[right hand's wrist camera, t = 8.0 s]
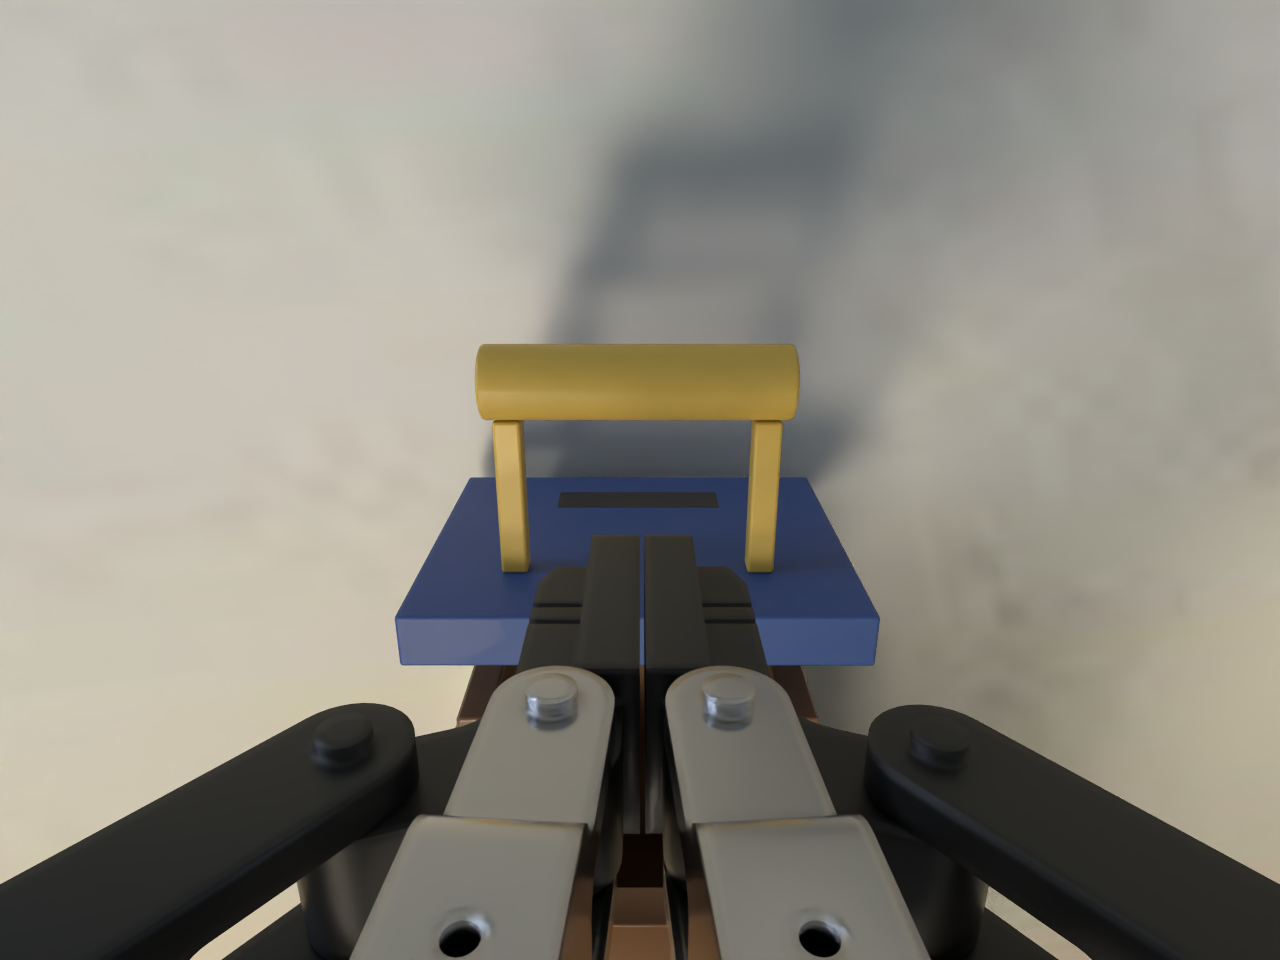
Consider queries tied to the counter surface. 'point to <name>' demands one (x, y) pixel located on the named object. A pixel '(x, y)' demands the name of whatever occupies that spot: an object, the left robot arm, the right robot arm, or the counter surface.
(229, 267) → the counter surface
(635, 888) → the cabinet
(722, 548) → the drawer
